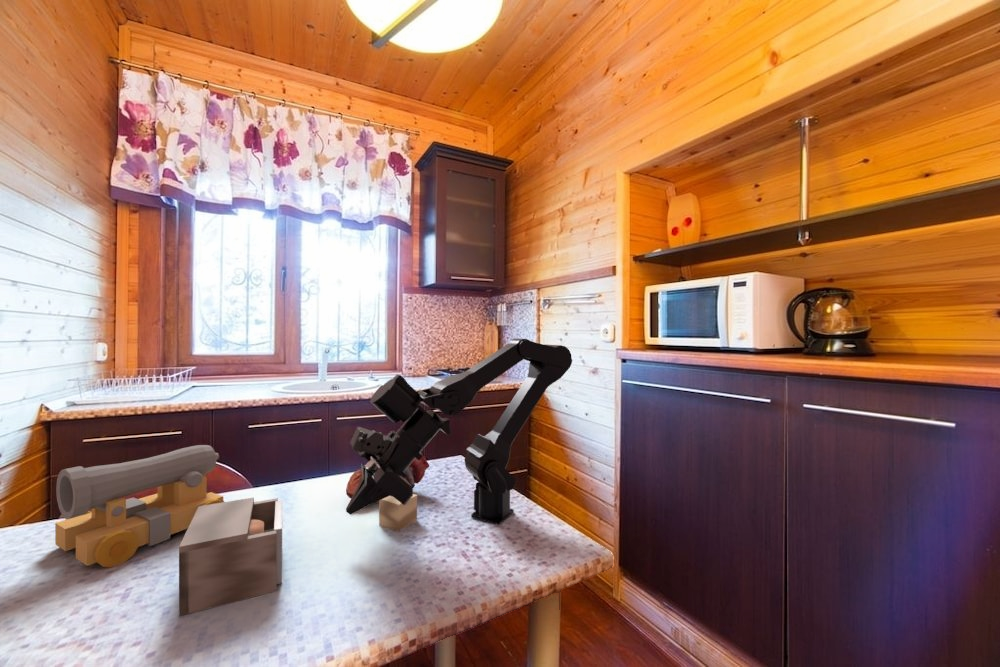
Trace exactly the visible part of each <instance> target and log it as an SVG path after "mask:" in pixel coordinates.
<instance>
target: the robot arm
mask: <svg viewBox="0 0 1000 667" xmlns="http://www.w3.org/2000/svg"><path fill="white" fill-rule="evenodd" d="M523 360H525V361H528V362H529V363H528V364H529V365H528V366H529V367H528V374H527V376H526V377H525V380H524V381H523V382H522V384H521V385H520V387H519V388H518V389H517V392H516V393H515V395H514V396H513V398H512V400H510V402H509V404H508V405H507V407H506V408H505V410H504V411H503V412H502V414H501V416H500V418H499V419H498V420H497V422H496V424H495V425H494V426H493V428H492V430H491V431H489V432H488V433H487V434H485V435H482V434H480V433H477V434H476V435H475V436H474V438H473V441H471V442H472V443H471V444H470V445H469V446H468V447H466V449H465V451H466V454H465V456H464V466H465V468H466V471H468V472H469V473H470V474H471V475H472V478H473V480H475V481H476V483H475V489H474V491H473V510H474V511H473V512H471V514H470V516H471V518H473V519H477V520H480V521H483V522H487V523H491V524H494V525H500V524H502V523H503V522H504V521H505V520H506V519H507V518H509V517H510V516H511V515H513V514H514V513H515V510H514V509H513V508H511V491H512V490H514V487H515V485H516V484H515V483H516V481H517V478H516V477H515V476H513V475H512V473H510V472H509V471H508V470H507V469H506V468H507V465H508V463H509V461H510V455H511V447H512V445H513V442H514V441H515V439H516V437H518V434H520V432H521V430H522V428H523V426H524V425H525V424H526V422H527V420H528V419H529V417H530V415H531V414H532V413H533V411H534V409H535V408H536V406H537V405H538V403H539V402H540V400H541V398H542V397H543V395H544V394H545V392H546V390H547V389H548V387H550V386H551V385H553V384H555V383H556V382H558V381H559V380H560V379H561V378H562V377H563V376H564V375H565V374H566V373H567V371H569V369H570V368H571V366H572V363H573V359H572V354H571V351H570V349H569V348H568V347H567V346H565V345H562V344H561V345H559V344H542V343H538V342H535V341H531V340H530V339H527V338H513V339H511V340H510V341H509V342H508V343H506V344H505V345H504V346H502V347H501V348H499V349H498V350H496V351H495V352H493V353H492V354H490V355H488V356H487V357H486V358H484V359H482V360H481V361H479V362H478V363H476V364H475V365H473V366H472V367H471V368H469V369H467V370H466V371H463V372H461V373H458V374H453V375H451V376H448V377H445V378H443V379H441V380H438V381H436V382H434V383H433V384H432V385H431V386H430V388H429V387H428V388H425V389H420V390H415V389H414V388H413V387H412V386H411V385H410V383H408V381H407V380H406V379H405V377H403V376H402V375H401V374H396V375H395V376H394V377H393V378H391V379H389V380H387V381H386V382H385V383H384V384H381V385H380V386H379V387H378V388H377V390H376V391H375V392H374V393H373V395H372V396H371V398H370V399H369V400H370V401H369V402H370V403H371V404H372V405H373V406H374V407H375V408H376V409H377V410H379V412H381V414H383V415H384V416H385V417H386V418H388V420H390V421H392V423H396V424H397V423H398V422H402V423H403V424H402V425H401V426H400V428H399V429H397V431H395V430H390V431H389V432H388V433H387V434H386V435H385V434H383V433H382V432H381V431H380V432H377V431H376V430H374V429H372V430H370V429H367V428H365V427H361V426H357V427H356V429H355V431H354V433H353V436H352V438H351V440H350V442H349V445H350V446H351V449H352V450H353V451H356V452H357V453H358V455H359V457H361V458H362V459H363V458H364V459H365V460H367V461H368V462H366V464H365V463H363V462H361V469H362V478H361V481H360V483H359V485H358V487H357V489H356V491H355V492H354V494H353V496H352V498H350V500H349V503H348V504H347V506H346V508H345V512H346V513H347V514H349V515H353V514H355V513H357V512H359V511H360V510H363V509H365V508H367V507H369V506H370V505H372V504H373V503H375V502H377V501H379V500H381V499H384V498H386V497H388V496H393V497H394V498H395V499H397V500H398V501H399V502H400V503H402V504H403V505H405V504H406V503H407V502H408V501H409V500H410V498H411V497H412V496H413V494H414V492H413V491H414V490H413V489H414V488H413V487H412V486H411V485H410V484H409V482H408V481H407V480H406V479H404V478H405V477H406V476H407V475H406V473H405V472H404V471H405V470H406V469H407V468H408V467H409V465H410V464H411V463H412V462H413V461H414V460H415V458H417V459H418V460H420V459H421V458H422V455H423V454H422V455H421V454H420V452H423V450H424V449H425V448H426V447H427V446H428V444H429V443H430V442H431V441H432V439H433V438H434V437H435V436H436V435H437V434H438V432H439V431H442V432H443V433H444V434H446V435H447V436H450V435H451V433H452V431H451V419H449V418H447V417H444V418H442V417H441V416H439V415H438V414H437V413H436V411H434V410H433V409H435V410H437V411H439V412H441V413H443V414H445V415H448V416H455V415H458V414H461V412H463V411H464V409H465V408H467V406H468V405H470V404H471V402H473V400H474V399H475V397H476V395H477V394H478V393H479V391H481V389H482V388H484V387H486V386H487V385H489V384H490V383H491V382H493V381H494V380H496V379H497V378H498V377H500V376H502V375H503V374H504V373H505V372H508V371H509V370H510V369H511V368H514V366H516V365H517V364H519V363H521V362H522V361H523ZM420 404H423V405H425V406H426V407H428V408H430V409H429V410H425V409H424V408H423V407H422V406H421V405H420ZM373 505H374V504H373Z"/></svg>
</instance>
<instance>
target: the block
mask: <svg viewBox="0 0 1000 667" xmlns="http://www.w3.org/2000/svg"><path fill="white" fill-rule="evenodd" d="M378 508H379V510H378V514H379V515H378V518H379V519H378V524H379V526H381V527H384V528H387V529H390V530H393V531H395V532H401V531H402V530H403V529H404V530H405V528H408V527H409V526H411V525H412V524H414V523H415V522H417V521H418V495H417V494H414V493H413V496H412V497H411V498H410V500H409V501H408V502H407V503H406V504H405V505H403V504H402V503H400V502H399V501H398V500H397V499H395V498H394V497H393V496H388V497H386V498H384V499H381V500H379V503H378Z"/></svg>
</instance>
